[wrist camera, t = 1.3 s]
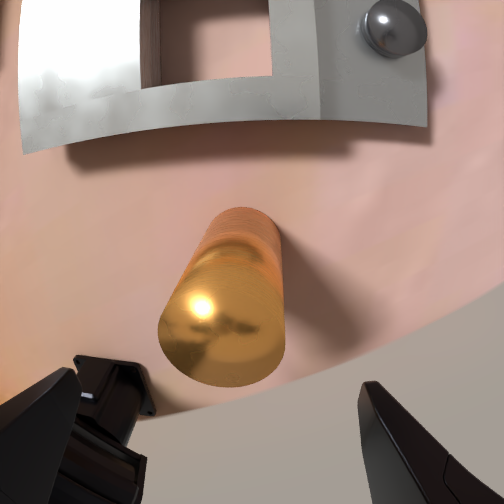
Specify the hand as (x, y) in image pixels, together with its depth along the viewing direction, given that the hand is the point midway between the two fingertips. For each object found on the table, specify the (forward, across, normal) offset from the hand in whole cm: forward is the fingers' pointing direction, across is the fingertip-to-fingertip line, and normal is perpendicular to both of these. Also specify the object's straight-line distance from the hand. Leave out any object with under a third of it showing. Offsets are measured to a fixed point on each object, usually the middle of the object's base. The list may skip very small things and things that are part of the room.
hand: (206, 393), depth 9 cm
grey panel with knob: (+11, +1, -12) cm, 17 cm away
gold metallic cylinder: (+11, 0, 0) cm, 11 cm away
